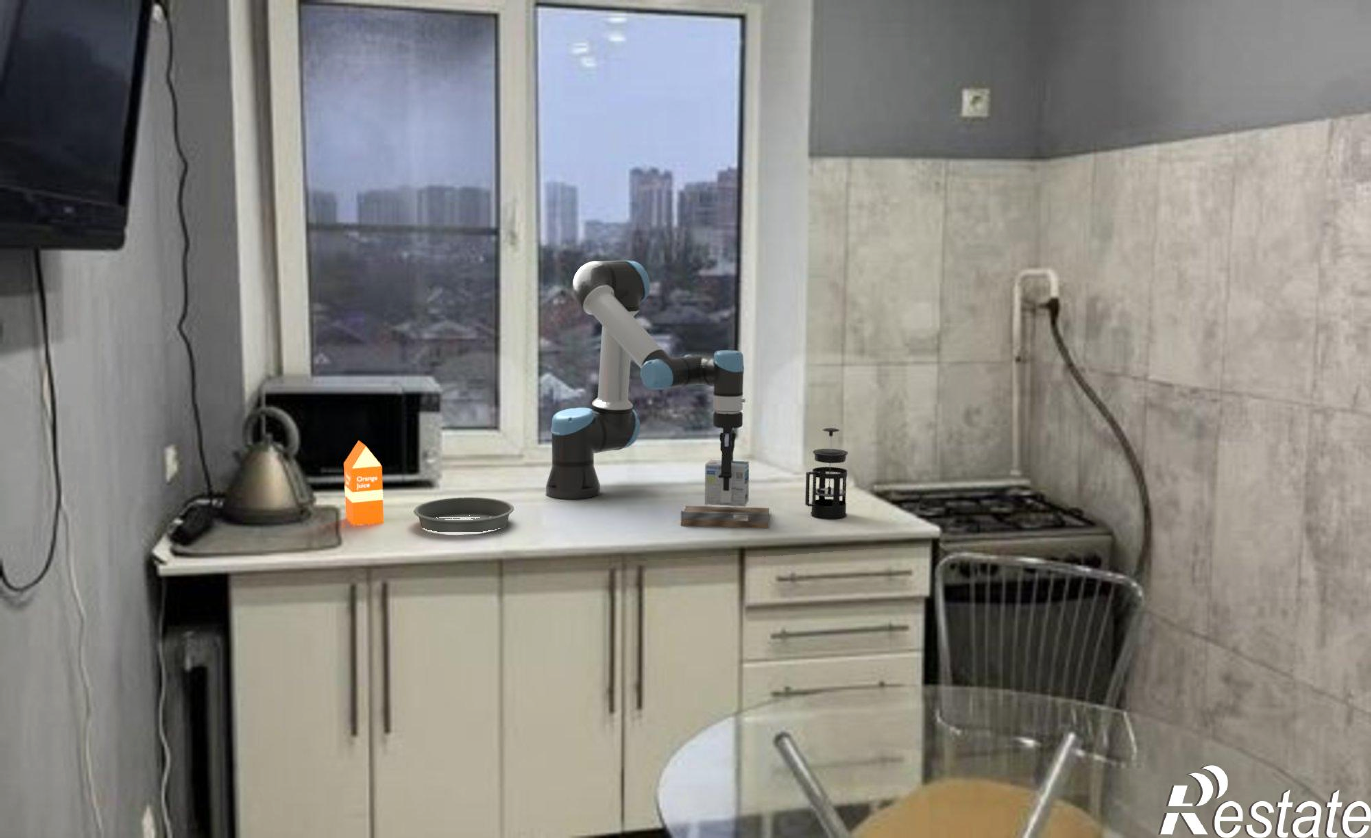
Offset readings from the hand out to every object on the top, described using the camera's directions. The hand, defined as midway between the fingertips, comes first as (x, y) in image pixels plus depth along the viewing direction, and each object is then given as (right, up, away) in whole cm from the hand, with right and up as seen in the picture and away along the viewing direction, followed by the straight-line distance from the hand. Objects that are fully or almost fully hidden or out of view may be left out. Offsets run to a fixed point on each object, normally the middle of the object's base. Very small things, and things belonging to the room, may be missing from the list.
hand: (726, 498), depth 306 cm
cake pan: (-66, -6, -9) cm, 67 cm away
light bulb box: (0, -1, 0) cm, 1 cm away
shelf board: (0, -5, -2) cm, 6 cm away
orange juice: (-92, -5, -6) cm, 92 cm away
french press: (+26, -5, +3) cm, 27 cm away
